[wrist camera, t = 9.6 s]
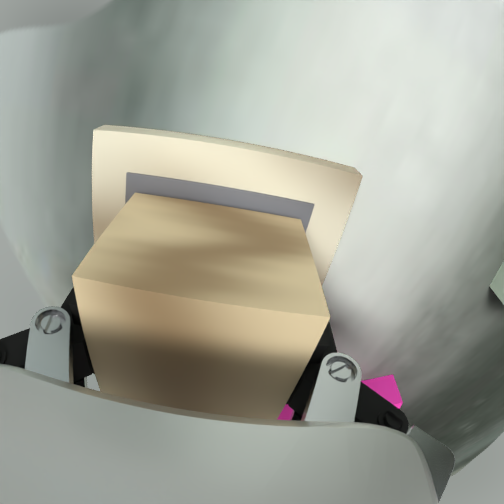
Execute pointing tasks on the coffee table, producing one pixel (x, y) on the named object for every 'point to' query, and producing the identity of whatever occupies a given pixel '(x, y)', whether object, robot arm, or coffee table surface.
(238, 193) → the birch board
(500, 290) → the sage cube
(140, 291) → the oak block
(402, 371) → the coffee table surface
